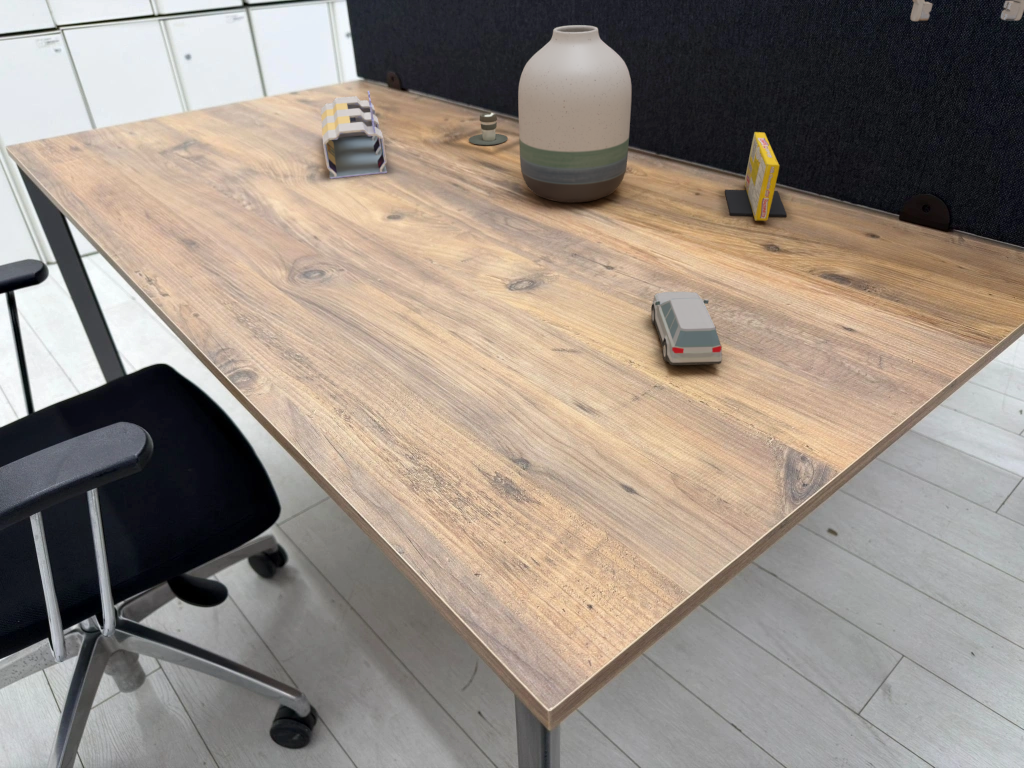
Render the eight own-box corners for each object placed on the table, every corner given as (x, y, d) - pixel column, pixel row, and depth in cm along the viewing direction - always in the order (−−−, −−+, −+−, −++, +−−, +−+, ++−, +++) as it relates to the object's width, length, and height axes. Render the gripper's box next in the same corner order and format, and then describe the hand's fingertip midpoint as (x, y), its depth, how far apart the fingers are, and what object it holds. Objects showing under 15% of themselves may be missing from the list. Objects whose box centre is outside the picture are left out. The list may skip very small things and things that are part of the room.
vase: (646, 189, 117) (659, 25, 103) (580, 220, 107) (584, 43, 93) (566, 168, 126) (568, 16, 113) (498, 195, 116) (491, 31, 103)
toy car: (696, 312, 83) (701, 272, 80) (723, 374, 72) (730, 331, 70) (646, 313, 83) (649, 274, 80) (666, 376, 72) (670, 333, 70)
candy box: (769, 222, 103) (780, 164, 98) (754, 221, 103) (764, 164, 98) (757, 183, 116) (766, 131, 111) (743, 183, 116) (751, 130, 112)
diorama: (388, 172, 128) (378, 95, 120) (329, 179, 126) (315, 100, 118) (377, 134, 148) (368, 66, 140) (326, 139, 146) (314, 70, 138)
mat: (777, 193, 113) (777, 190, 113) (786, 217, 105) (786, 214, 105) (724, 191, 115) (725, 189, 114) (729, 215, 106) (730, 212, 106)
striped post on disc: (446, 142, 142) (444, 116, 139) (487, 128, 149) (486, 103, 146) (492, 153, 135) (491, 125, 132) (532, 137, 142) (532, 111, 140)
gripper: (907, -128, 72) (872, 25, 80) (1136, -137, 69) (1076, 23, 77) (890, -128, 77) (859, 16, 85) (1103, -136, 74) (1050, 15, 82)
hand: (963, 20), depth 81 cm, fingers open, 8 cm apart
